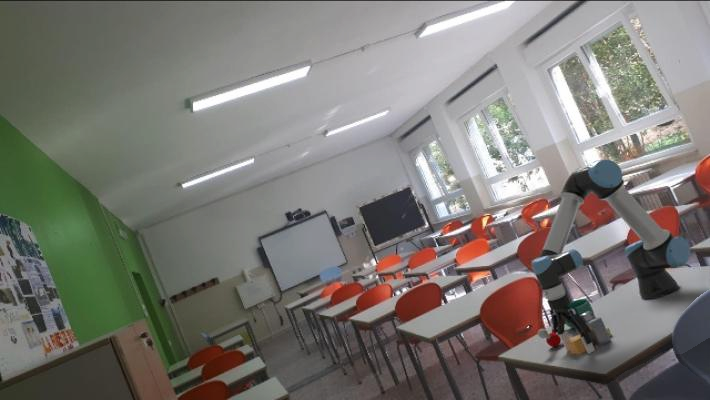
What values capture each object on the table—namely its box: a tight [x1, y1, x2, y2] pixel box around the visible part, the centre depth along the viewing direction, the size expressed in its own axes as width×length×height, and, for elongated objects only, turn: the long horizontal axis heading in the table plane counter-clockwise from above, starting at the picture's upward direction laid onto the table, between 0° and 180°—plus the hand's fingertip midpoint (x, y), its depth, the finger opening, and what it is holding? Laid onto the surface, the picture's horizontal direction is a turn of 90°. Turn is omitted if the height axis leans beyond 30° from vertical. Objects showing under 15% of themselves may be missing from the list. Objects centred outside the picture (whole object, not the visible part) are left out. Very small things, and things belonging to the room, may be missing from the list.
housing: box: [575, 311, 612, 347], centre depth 216 cm, size 5×11×12 cm, turn 16°
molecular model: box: [537, 317, 562, 348], centre depth 231 cm, size 18×6×10 cm, turn 139°
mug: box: [565, 298, 595, 329], centre depth 245 cm, size 17×13×10 cm
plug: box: [566, 327, 613, 355], centre depth 215 cm, size 16×4×5 cm, turn 106°
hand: (580, 350), depth 213 cm, fingers open, 12 cm apart
